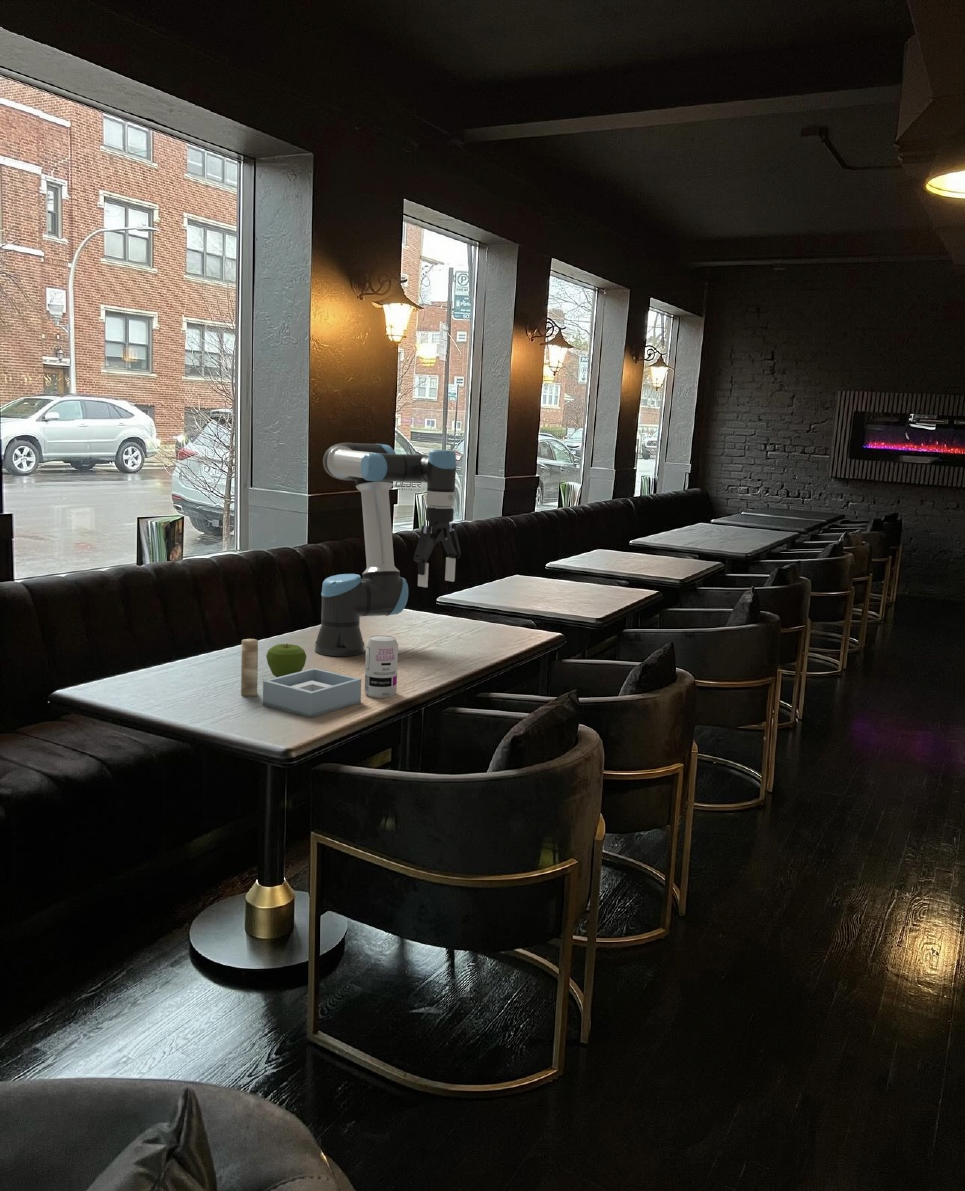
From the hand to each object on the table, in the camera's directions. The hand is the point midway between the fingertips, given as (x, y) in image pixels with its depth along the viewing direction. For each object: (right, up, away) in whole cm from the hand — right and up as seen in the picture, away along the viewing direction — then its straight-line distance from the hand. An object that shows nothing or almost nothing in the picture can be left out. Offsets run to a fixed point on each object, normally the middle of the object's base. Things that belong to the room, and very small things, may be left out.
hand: (436, 583), depth 266 cm
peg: (-47, -28, -21) cm, 59 cm away
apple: (-41, -26, -5) cm, 49 cm away
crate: (-30, -30, -26) cm, 50 cm away
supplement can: (-14, -29, -15) cm, 36 cm away
